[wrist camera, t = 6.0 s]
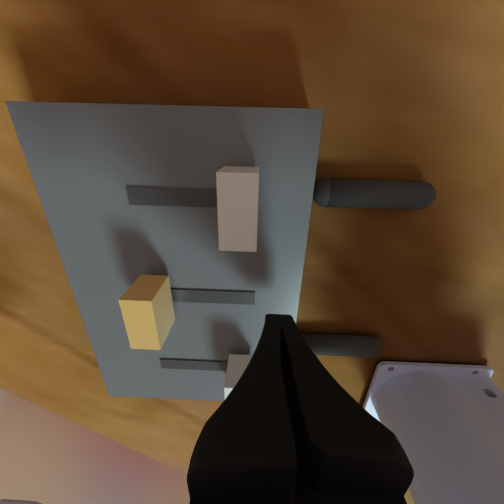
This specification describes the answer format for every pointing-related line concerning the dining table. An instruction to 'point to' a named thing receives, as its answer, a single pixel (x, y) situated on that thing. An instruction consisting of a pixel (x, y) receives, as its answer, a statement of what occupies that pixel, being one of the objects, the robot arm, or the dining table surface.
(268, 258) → the grey slider panel
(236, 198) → the paddle
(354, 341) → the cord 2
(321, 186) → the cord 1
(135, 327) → the paddle middle
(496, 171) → the dining table surface
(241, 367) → the paddle
